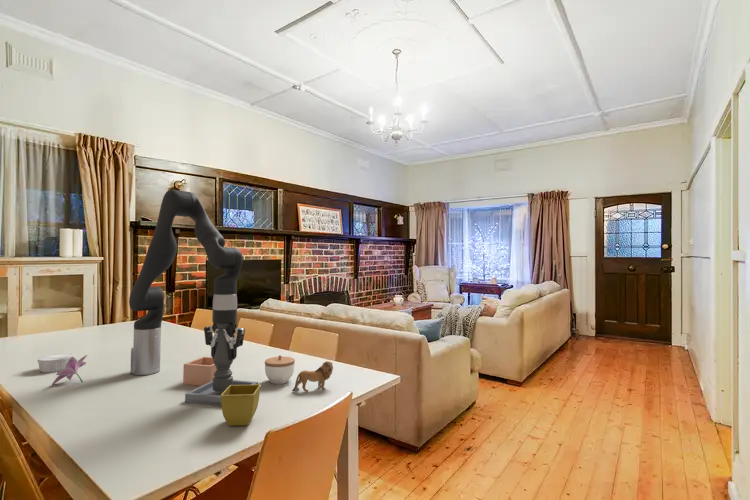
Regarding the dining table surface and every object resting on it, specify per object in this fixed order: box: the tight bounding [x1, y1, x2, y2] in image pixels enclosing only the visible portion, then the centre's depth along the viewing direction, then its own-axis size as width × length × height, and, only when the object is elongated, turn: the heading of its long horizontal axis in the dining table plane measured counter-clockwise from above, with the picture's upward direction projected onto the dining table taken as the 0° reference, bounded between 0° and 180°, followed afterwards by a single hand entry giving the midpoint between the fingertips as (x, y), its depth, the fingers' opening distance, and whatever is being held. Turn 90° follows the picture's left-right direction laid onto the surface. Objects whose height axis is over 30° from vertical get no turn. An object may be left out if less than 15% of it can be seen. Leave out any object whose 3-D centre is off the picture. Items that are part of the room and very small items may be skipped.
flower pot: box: [221, 384, 261, 427], centre depth 106 cm, size 9×9×9 cm
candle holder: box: [213, 323, 234, 391], centre depth 126 cm, size 6×6×25 cm
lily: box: [51, 354, 88, 386], centre depth 137 cm, size 12×12×10 cm
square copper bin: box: [182, 356, 217, 387], centre depth 141 cm, size 11×11×7 cm
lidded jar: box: [264, 355, 296, 385], centre depth 141 cm, size 11×11×9 cm
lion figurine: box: [291, 360, 334, 393], centre depth 133 cm, size 15×5×9 cm, turn 120°
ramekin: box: [37, 352, 75, 373], centre depth 152 cm, size 11×11×5 cm
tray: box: [184, 379, 259, 407], centre depth 126 cm, size 16×16×2 cm
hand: (223, 358), depth 126 cm, fingers closed on candle holder, 6 cm apart
